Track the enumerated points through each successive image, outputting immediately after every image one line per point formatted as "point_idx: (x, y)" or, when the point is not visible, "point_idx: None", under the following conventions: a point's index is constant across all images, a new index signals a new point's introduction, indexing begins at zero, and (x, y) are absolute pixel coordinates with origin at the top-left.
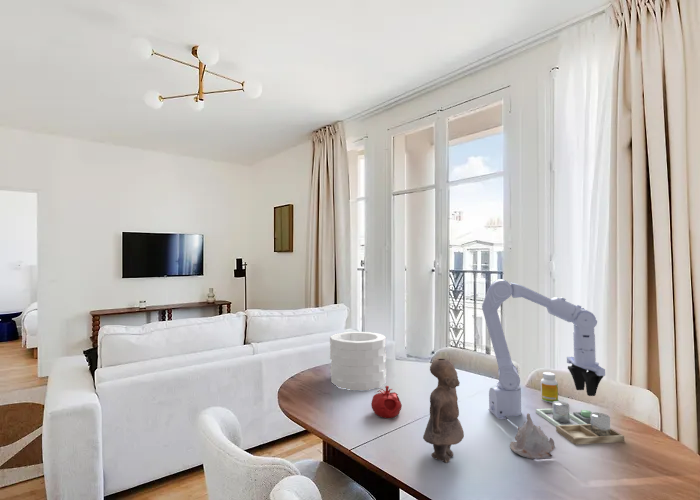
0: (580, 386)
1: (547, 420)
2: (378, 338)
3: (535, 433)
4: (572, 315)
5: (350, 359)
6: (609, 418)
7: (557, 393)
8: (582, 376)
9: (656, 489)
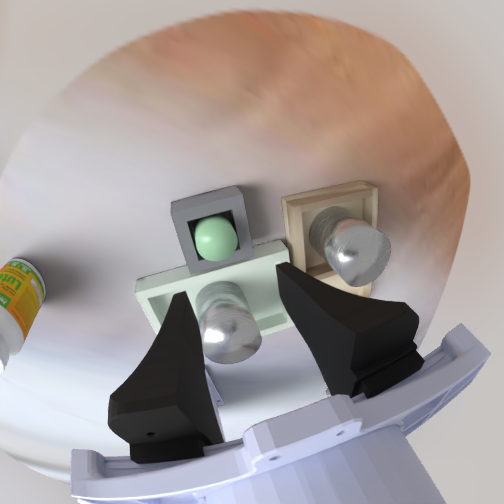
0: (194, 323)
1: None
2: None
3: None
4: None
5: None
6: (387, 238)
7: (15, 281)
8: (192, 363)
9: (458, 221)
